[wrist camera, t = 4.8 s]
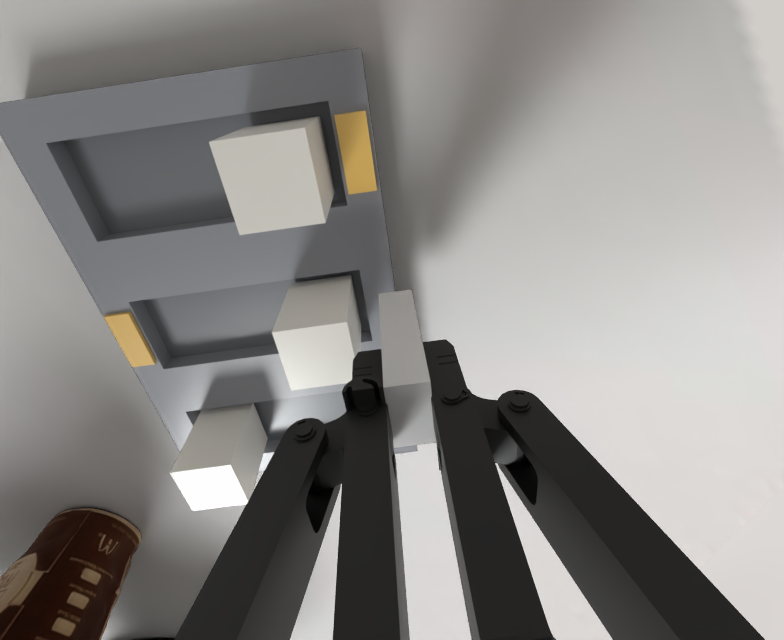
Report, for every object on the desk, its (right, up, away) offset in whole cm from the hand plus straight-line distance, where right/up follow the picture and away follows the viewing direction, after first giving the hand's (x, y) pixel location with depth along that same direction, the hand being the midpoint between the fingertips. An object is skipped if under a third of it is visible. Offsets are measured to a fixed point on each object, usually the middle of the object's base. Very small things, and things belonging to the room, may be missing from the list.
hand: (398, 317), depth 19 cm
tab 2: (-4, +7, -2) cm, 8 cm away
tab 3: (-4, +1, +2) cm, 4 cm away
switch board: (-7, +1, +3) cm, 8 cm away
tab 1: (-10, -6, +5) cm, 13 cm away
